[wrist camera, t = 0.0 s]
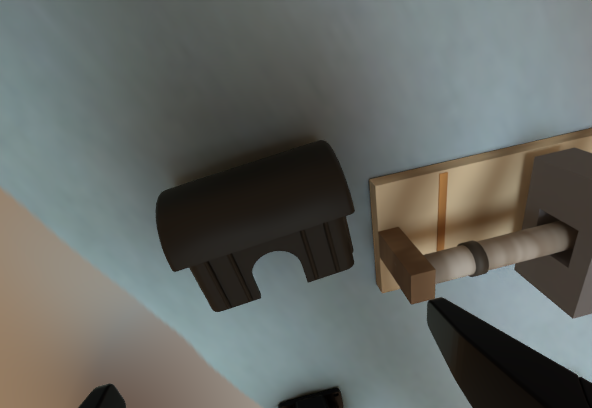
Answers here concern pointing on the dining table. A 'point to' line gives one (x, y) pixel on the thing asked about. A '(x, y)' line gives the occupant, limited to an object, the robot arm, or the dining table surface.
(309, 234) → the end cap
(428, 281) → the pipe stand
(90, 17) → the dining table surface
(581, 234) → the collar
